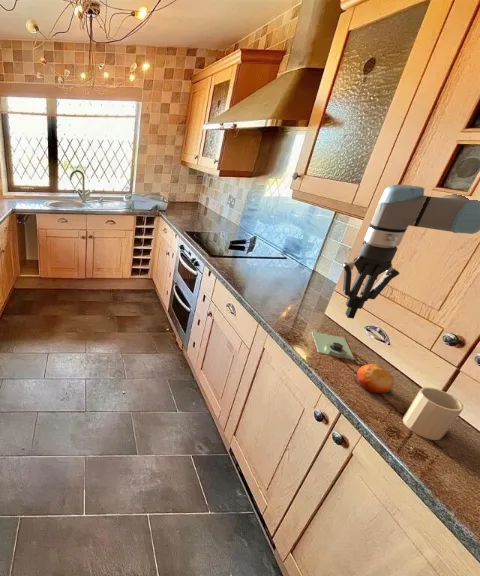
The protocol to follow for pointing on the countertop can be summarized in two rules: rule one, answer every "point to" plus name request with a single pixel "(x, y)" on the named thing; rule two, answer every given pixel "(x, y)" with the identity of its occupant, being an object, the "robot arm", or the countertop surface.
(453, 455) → the countertop surface
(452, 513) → the countertop surface
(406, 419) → the cup
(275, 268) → the countertop surface
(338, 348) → the tare button
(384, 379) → the fruit
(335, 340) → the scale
